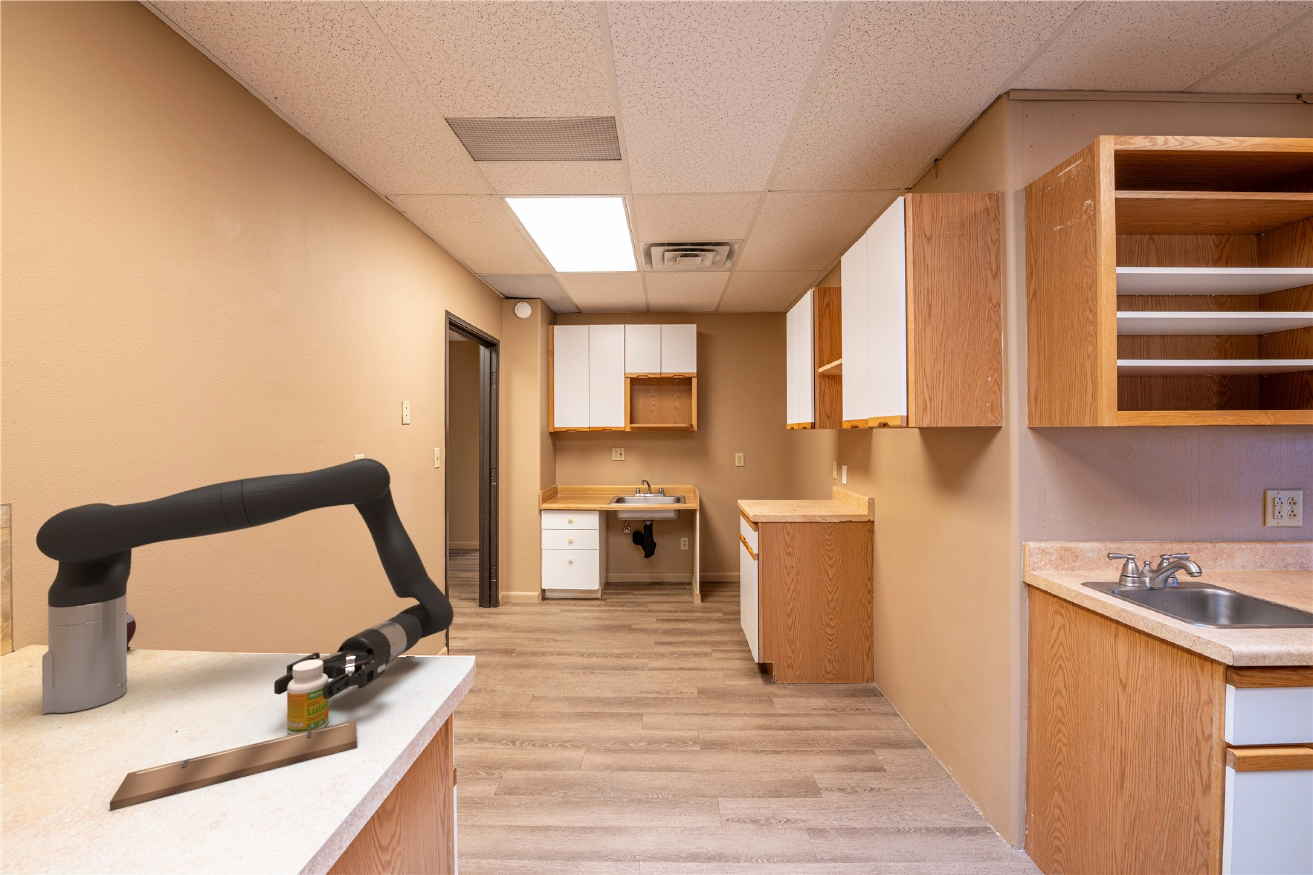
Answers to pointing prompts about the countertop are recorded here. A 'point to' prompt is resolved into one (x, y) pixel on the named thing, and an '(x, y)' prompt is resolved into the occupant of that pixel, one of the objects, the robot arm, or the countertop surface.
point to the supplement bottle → (307, 698)
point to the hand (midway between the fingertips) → (300, 690)
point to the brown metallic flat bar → (232, 764)
